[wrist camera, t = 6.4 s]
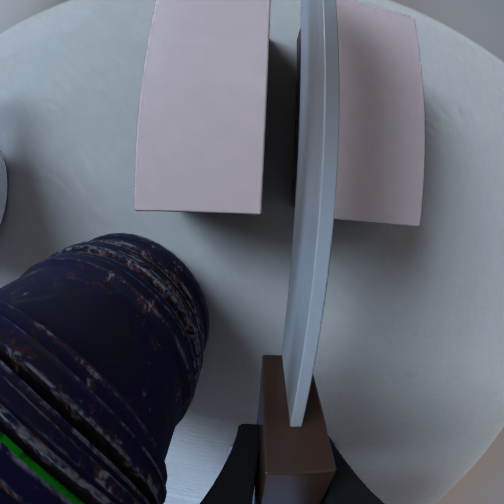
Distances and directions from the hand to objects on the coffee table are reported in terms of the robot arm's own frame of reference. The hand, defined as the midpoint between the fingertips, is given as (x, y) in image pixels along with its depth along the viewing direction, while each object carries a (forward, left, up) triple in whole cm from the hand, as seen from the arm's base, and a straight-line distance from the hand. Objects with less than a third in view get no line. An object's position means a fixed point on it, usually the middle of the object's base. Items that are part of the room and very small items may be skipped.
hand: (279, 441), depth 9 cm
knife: (+7, 0, -1) cm, 7 cm away
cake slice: (+12, -3, -7) cm, 14 cm away
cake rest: (+12, +3, -7) cm, 14 cm away
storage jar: (+1, +8, -7) cm, 11 cm away
